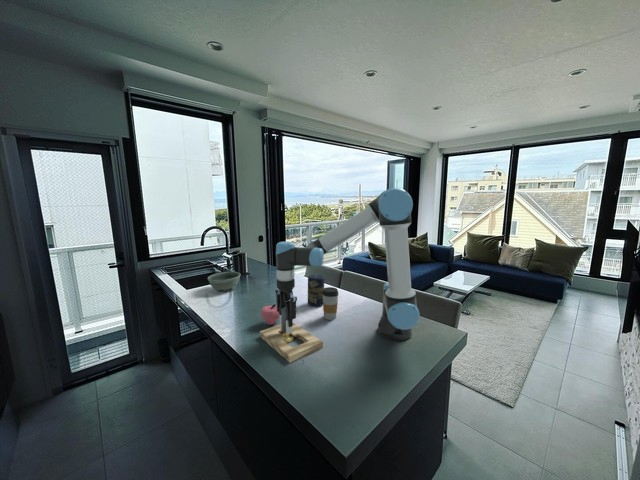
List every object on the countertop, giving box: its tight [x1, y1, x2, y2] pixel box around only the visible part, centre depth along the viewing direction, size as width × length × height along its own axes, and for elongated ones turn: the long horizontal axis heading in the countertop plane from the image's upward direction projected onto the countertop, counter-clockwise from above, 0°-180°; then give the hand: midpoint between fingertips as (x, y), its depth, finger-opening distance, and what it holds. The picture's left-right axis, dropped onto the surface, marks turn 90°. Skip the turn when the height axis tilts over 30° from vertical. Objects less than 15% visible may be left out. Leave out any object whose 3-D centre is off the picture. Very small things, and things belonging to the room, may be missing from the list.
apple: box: [260, 303, 280, 326], centre depth 127 cm, size 10×9×10 cm
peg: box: [281, 307, 294, 344], centre depth 113 cm, size 6×6×14 cm
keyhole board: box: [259, 322, 324, 363], centre depth 111 cm, size 24×16×3 cm, turn 40°
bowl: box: [207, 271, 241, 293], centre depth 175 cm, size 21×21×10 cm
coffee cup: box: [322, 286, 339, 321], centre depth 134 cm, size 8×8×15 cm
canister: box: [307, 273, 325, 307], centre depth 151 cm, size 10×10×18 cm
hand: (286, 330), depth 113 cm, fingers closed on peg, 4 cm apart
